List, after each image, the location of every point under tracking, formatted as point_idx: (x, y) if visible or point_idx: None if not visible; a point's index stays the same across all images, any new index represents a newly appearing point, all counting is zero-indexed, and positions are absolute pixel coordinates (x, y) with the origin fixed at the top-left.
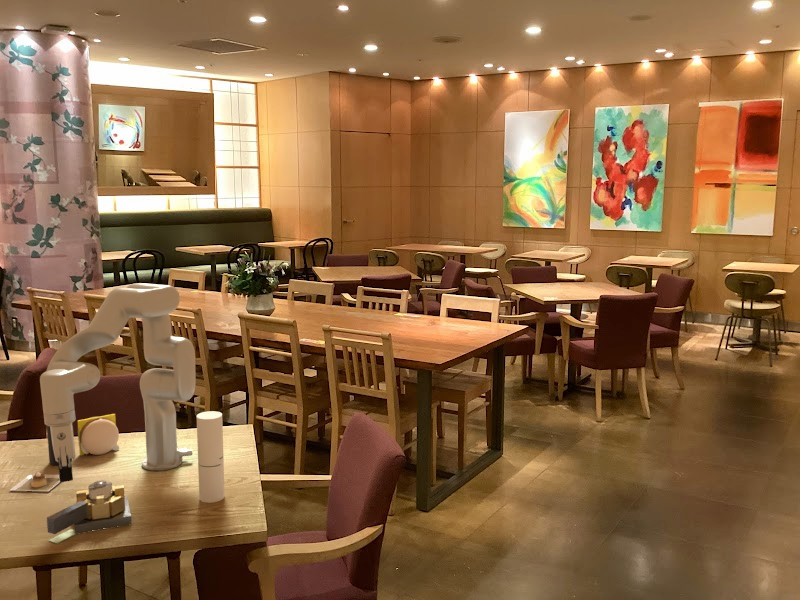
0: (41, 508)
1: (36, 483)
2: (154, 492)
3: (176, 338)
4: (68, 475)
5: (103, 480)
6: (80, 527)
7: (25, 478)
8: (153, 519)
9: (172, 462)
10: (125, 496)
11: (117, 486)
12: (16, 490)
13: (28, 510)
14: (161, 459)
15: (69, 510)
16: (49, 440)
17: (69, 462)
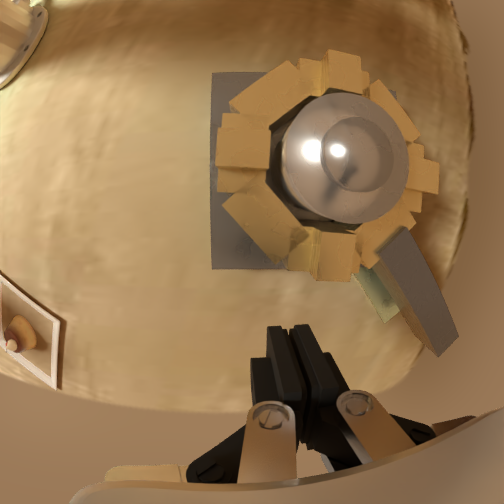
0: (154, 346)
1: (30, 343)
2: (164, 19)
3: None
4: (335, 366)
5: (330, 128)
6: None
7: (10, 353)
8: (364, 44)
9: (33, 16)
10: (220, 76)
11: (335, 75)
12: (56, 380)
13: (159, 373)
14: (21, 29)
15: (435, 296)
16: None
17: (397, 427)
